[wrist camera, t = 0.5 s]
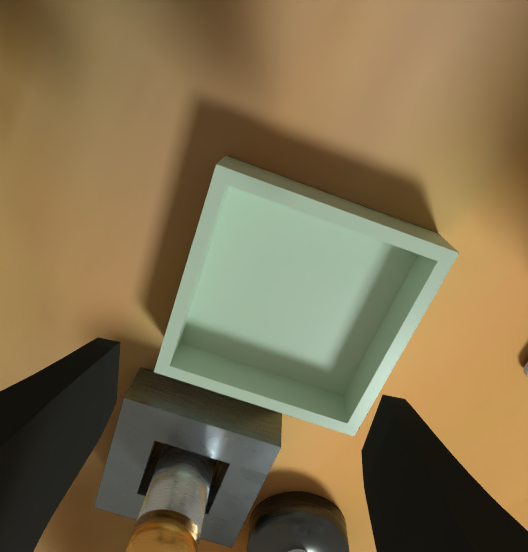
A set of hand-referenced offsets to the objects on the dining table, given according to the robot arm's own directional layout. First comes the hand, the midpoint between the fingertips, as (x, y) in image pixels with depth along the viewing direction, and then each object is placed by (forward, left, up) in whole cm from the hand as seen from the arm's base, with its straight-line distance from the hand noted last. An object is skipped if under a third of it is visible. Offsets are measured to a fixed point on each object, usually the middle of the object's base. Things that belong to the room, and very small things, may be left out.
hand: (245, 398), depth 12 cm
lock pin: (0, +12, -9) cm, 15 cm away
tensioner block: (-3, +13, -9) cm, 16 cm away
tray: (-2, +1, -9) cm, 10 cm away
